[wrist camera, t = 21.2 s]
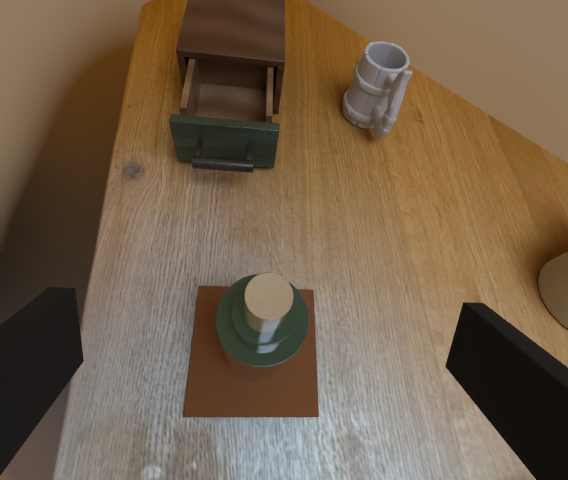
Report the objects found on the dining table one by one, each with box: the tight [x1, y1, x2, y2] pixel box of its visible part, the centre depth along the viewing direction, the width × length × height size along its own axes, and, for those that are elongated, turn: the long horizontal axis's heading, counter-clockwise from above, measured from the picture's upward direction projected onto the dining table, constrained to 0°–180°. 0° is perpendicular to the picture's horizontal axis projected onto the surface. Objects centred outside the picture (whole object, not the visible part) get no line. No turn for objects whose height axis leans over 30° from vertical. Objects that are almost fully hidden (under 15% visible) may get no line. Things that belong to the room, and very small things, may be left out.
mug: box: [342, 41, 412, 139], centre depth 48 cm, size 8×12×12 cm, turn 8°
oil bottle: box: [216, 273, 309, 382], centre depth 27 cm, size 7×7×18 cm
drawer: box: [169, 57, 279, 173], centre depth 44 cm, size 19×13×7 cm
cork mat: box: [183, 286, 319, 417], centre depth 36 cm, size 13×13×1 cm
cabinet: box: [176, 0, 285, 114], centre depth 51 cm, size 16×14×9 cm
